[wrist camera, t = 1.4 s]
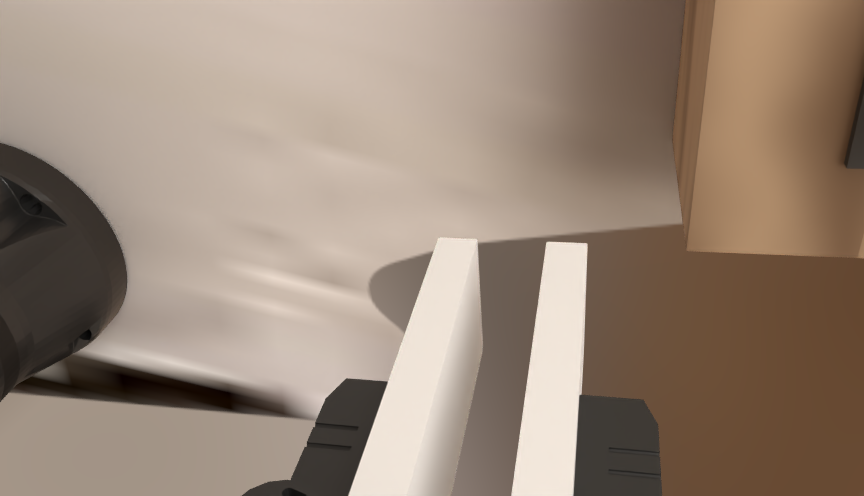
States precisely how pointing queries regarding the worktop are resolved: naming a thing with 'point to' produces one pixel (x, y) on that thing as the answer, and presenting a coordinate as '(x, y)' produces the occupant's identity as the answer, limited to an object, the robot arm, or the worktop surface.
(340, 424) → the robot arm
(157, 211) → the worktop surface
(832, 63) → the socket block
